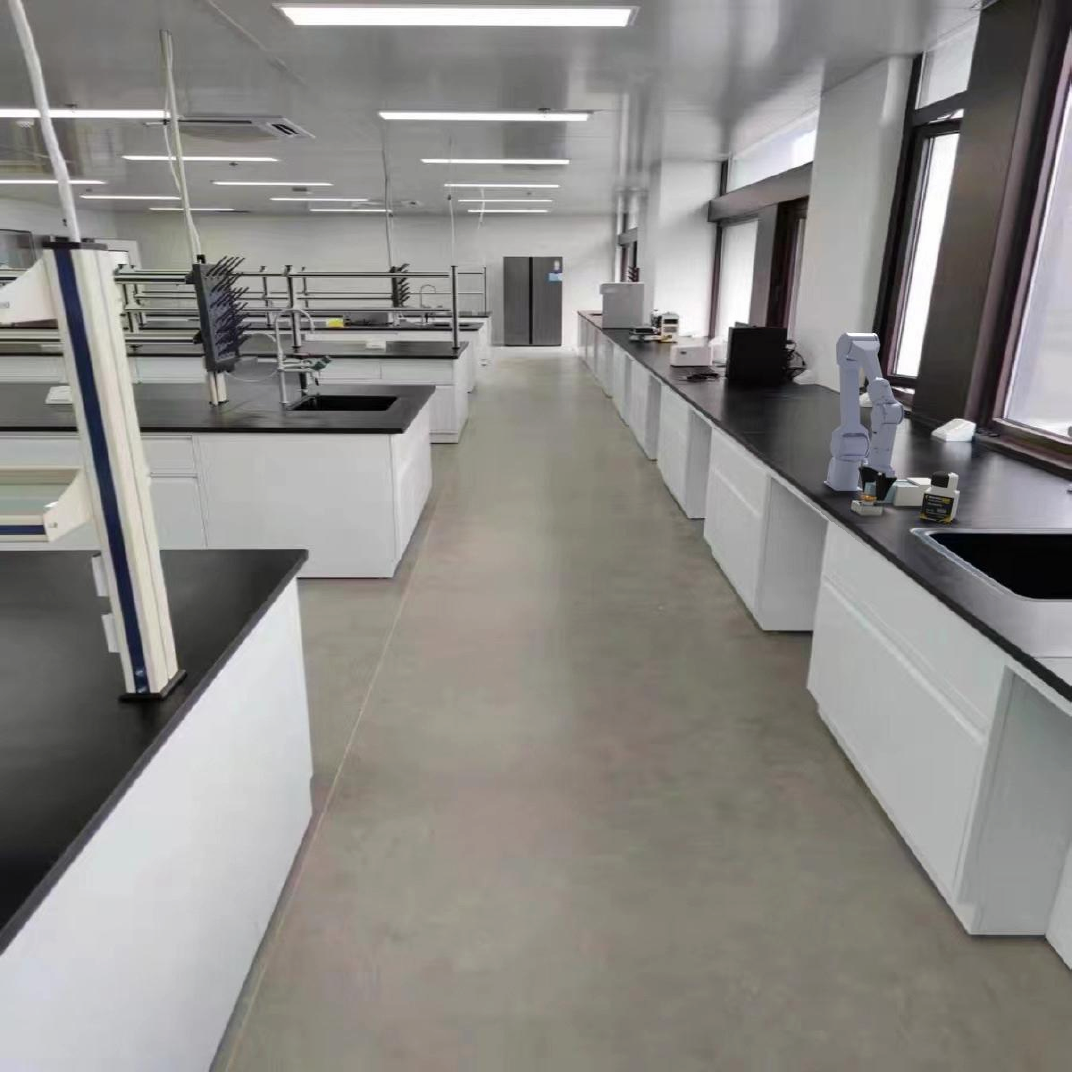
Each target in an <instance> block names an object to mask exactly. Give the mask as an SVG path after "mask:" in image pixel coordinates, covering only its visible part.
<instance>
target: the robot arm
mask: <svg viewBox="0 0 1072 1072" xmlns="http://www.w3.org/2000/svg"><path fill="white" fill-rule="evenodd" d="M880 347H881V343H880V339H879V336H878V334H876V333H874V332H871V333H849V332H844V333H842V334H841V335H840V336H839V337H838V339H837V342H836V344H835V350H836V351H835V354H836V355H835V357H836V364H837V365H838V366H839V369H838V370H839V372H838V373H839V401H840V402H839V403H840V404H839V406H840V407H839V409H840V410H839V411H840V425H839V426H837V427H836V428H835V429H834V430H833V431H832V432H831V440H830V443H829V450H830V453H831V455H832V458H830V461H829V463H828V468H827V469H828V470H827V478H826V480H824V481H823V483H824V484H825V485H826V486H828V487H830V488H831V489H833V490H834V491H835V492H836V491H837V492H862V494H864V491H865V485H866V483H876V494H875V496H876V497H877V498H876V501H884V500H885V498H886V496H887V493H888V491H889V489H890V488H891V486H892V485H893V484H894V482H895V481H896V480H898V477H897V476H896V475H895V474H896V469H894V468H893V466H892V464H891V462H892V456H893V452H894V448H895V447H894V445H895V441H896V440H895V439H896V434H897V428H898V425H900V424H901V423H902V422H903V420H904V418H905V408H904V406H903V404H902V403H900V402H899V400H897V399H895V396H894V393H893V391H892V387H891V385H890V381H889V380H887V379H885V378H883V373H882V368H881V365H880V361H879V357H878V353H879V351H880ZM860 368H862V370H863V372H864V374H865V377H866V380H867V381H868V384H867V387H866V392H867V395H868V398H869V401H870V405H871V407H872V410H871V412H870V421H871V427H870V428H871V431H872V435H871V440H870V437H869V430H868V429H867V428H866V426H865V427H864V426H863V424H861V403H860V401H861V400H860V372H859V370H860ZM867 456H868V457H867ZM861 465H862V466H861ZM879 473H880V474H879ZM860 478H861V486H862V487H859V484H858V483H859V479H860Z"/></svg>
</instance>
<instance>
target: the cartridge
mask: <svg viewBox="0 0 1072 1072" xmlns="http://www.w3.org/2000/svg"><path fill="white" fill-rule="evenodd" d="M896 485H903V486H918V485H916V484H914V483H912V482H894V484H893V485H892V486H891V488H890V489H889V491H888V493H887V496H886V498H885V500H884V501H876V500H874V502H876V503H878V504H893V501H894V495H895V489H896ZM863 494H871V495H875V494H876V483H866V485H865V491H864V493H863Z"/></svg>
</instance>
